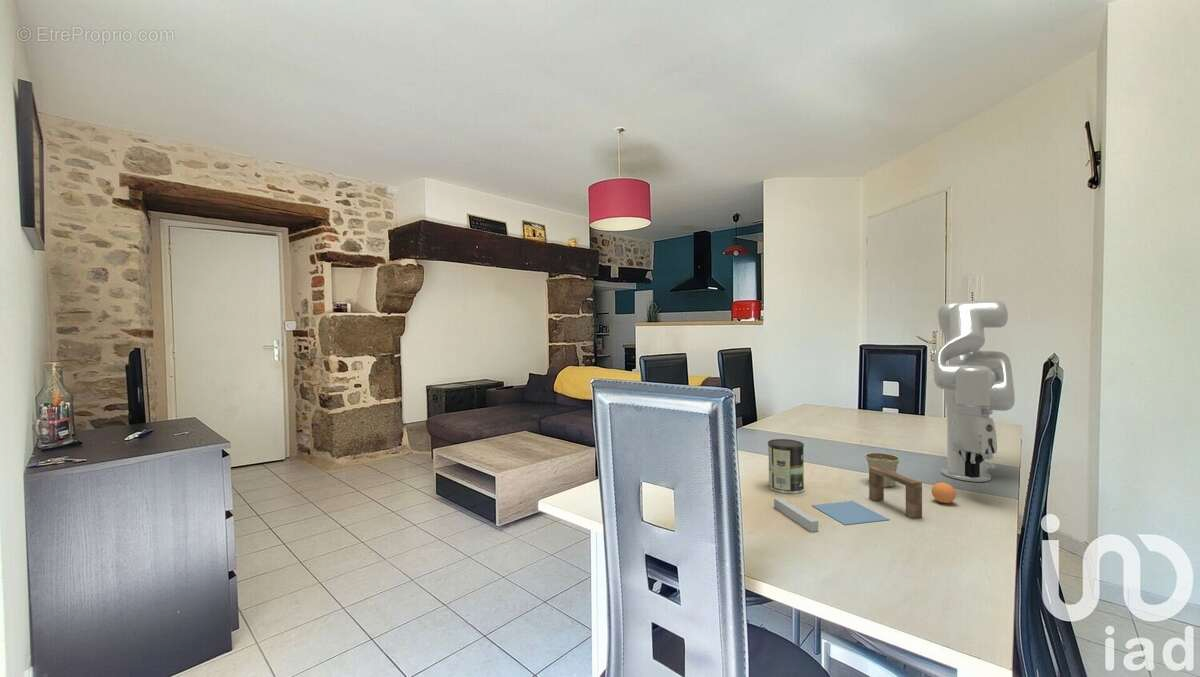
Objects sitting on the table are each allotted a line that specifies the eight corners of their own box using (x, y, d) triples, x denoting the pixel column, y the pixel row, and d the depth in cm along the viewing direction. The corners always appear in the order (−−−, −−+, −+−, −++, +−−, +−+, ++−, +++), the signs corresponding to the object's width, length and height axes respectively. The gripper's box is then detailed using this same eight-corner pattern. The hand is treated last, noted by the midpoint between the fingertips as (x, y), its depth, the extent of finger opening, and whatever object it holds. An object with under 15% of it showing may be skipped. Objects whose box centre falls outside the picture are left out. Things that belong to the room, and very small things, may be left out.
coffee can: (800, 483, 148) (799, 439, 148) (807, 494, 138) (807, 447, 138) (765, 481, 150) (765, 438, 150) (771, 493, 140) (770, 446, 140)
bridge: (878, 497, 134) (878, 466, 134) (922, 517, 120) (922, 482, 120) (869, 498, 134) (869, 466, 134) (912, 519, 120) (912, 483, 119)
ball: (942, 498, 133) (942, 479, 133) (961, 505, 128) (961, 485, 128) (926, 499, 132) (926, 480, 132) (944, 507, 127) (944, 487, 127)
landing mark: (852, 501, 132) (852, 500, 132) (889, 520, 119) (889, 519, 119) (811, 505, 129) (811, 505, 129) (844, 525, 117) (844, 524, 117)
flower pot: (869, 487, 143) (869, 459, 143) (861, 478, 152) (861, 451, 152) (904, 490, 140) (904, 461, 140) (894, 480, 149) (894, 453, 149)
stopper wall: (780, 506, 129) (780, 497, 129) (818, 531, 114) (818, 520, 114) (774, 507, 129) (774, 498, 129) (810, 531, 113) (810, 521, 113)
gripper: (1011, 414, 124) (1011, 484, 124) (958, 407, 139) (958, 469, 139) (987, 415, 123) (988, 485, 123) (936, 407, 138) (936, 470, 138)
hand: (972, 476), depth 131 cm, fingers closed
